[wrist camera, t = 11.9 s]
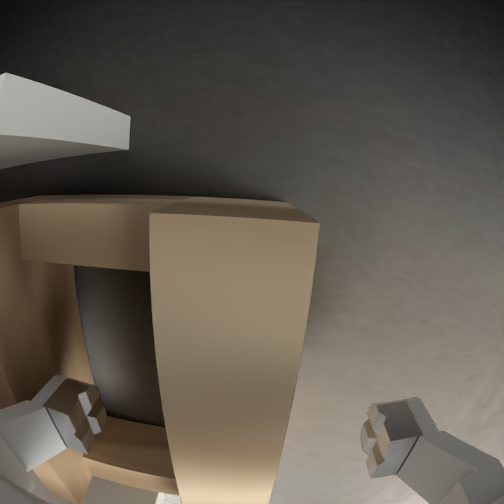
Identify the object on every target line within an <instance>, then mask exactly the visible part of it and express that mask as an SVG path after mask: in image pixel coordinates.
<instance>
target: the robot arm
mask: <svg viewBox="0 0 504 504" xmlns="http://www.w3.org/2000/svg"><path fill="white" fill-rule="evenodd" d="M99 396H100V392H99V390H98V387H97V386H95V385H92V384H89V383H85V382H82V381H79V380H75V379H72V378H68V377H65V376H62V375H59V374H58V375H54V376H53V377H52V378H51V380H50V381H49V382H48V383H47V384H46V385H45V386H44V387H43V388H42V389H41V390H40V391H39V392H38V394H37V395H36V396H35V397H34V398H33V399H32V400H31V401H29V400H26V401H23V402H20V403H18V404H15V405H12V406H9V407H6V408H3V409H0V504H51V503H49V502H47V501H45V500H43V499H41V498H39V497H38V496H36V495H34V494H32V493H31V492H32V490H33V489H34V487H35V485H36V484H35V481H34V480H33V479H32V477H31V476H30V475H29V474H28V471H30V470H31V469H33V468H35V467H37V466H38V465H40V464H42V463H43V462H45V461H47V460H48V459H50V458H52V457H53V456H55V455H57V454H58V453H60V452H62V451H63V450H65V449H67V447H68V448H71V449H73V450H76V451H79V452H82V453H85V454H89V452H90V450H91V449H92V447H93V445H94V444H95V442H96V438H95V434H97V433H99V432H101V431H102V430H103V428H104V426H105V423H106V417H107V416H106V409H105V407H104V405H103V404H102V402H101V401H100V400H99V399H98V398H99ZM367 414H368V417H369V419H368V420H367V421H366V422H365V423H364V424H363V427H362V430H361V446H362V450H363V452H365V453H366V454H367V455H369V457H368V459H367V461H366V464H367V467H368V471H369V474H370V478H377V477H383V476H389V475H394V474H397V476H398V477H399V478H400V479H401V480H403V481H404V482H405V483H406V484H407V485H408V486H409V487H411V488H412V489H413V490H414V491H415V492H417V493H418V494H419V495H420V496H421V497H422V498H424V499H425V500H426V501H427V502H428V503H430V504H504V468H503V466H502V464H501V463H500V461H499V460H498V459H496V458H494V457H492V456H490V455H488V454H486V453H484V452H482V451H480V450H478V449H477V448H475V447H473V446H471V445H469V444H467V443H465V442H463V441H461V440H459V439H458V438H456V437H454V436H452V435H450V434H448V433H447V432H445V431H440V432H439V430H438V429H437V427H436V425H435V423H434V422H433V420H432V418H431V416H430V415H429V413H428V411H427V409H426V408H425V406H424V404H423V403H422V401H421V399H420V398H418V397H414V398H409V399H403V400H396V401H390V402H382V403H374V404H372V405H371V406H370V407H369V410H368V412H367Z"/></svg>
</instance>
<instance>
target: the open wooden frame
mask: <svg viewBox="0 0 504 504" xmlns="http://www.w3.org/2000/svg"><path fill="white" fill-rule="evenodd" d="M319 226H320V223H319V222H317V221H316V220H314V219H313V218H311V217H309V216H308V215H306V214H305V213H303V212H302V211H300V210H298V209H297V208H295V207H294V206H292V205H290V204H289V203H287V202H277V201H265V200H250V199H234V198H215V197H193V196H163V195H49V196H35V197H29V198H23V199H18V200H12V201H7V202H1V203H0V409H3V408H6V407H9V406H12V405H15V404H18V403H20V402H23V401H26V400H29V401H31V400H32V399H33V398H34V397H35V396H36V395H37V394H38V392H39V391H40V390H41V389H42V388H43V387H44V386H45V385H46V384H47V383H48V382H49V381H50V380H51V378H52V377H53V376H54V375H58V374H59V375H62V376H65V377H68V378H72V379H75V380H79V381H82V382H85V383H89V384H92V385H95V383H94V379H93V375H92V371H91V367H90V363H89V359H88V354H87V350H86V345H85V340H84V335H83V330H82V324H81V319H80V313H79V306H78V299H77V292H76V284H75V275H74V265H80V266H91V267H101V268H112V269H124V270H135V271H147V272H150V282H151V303H152V318H153V331H154V343H155V353H156V363H157V371H158V380H159V388H160V395H161V402H162V409H163V415H164V421H165V427H160V426H154V425H148V424H143V423H138V422H133V421H128V420H123V419H118V418H114V417H110V416H107V417H106V423H105V426H104V428H103V430H102V431H101V432H99V433H97V434H95V438H96V442H95V444H94V445H93V447H92V449H91V450H90V452H89V454H85V453H82V452H79V451H76V450H73V449H71V448H68V447H67V449H65V450H63V451H62V452H60V453H58V454H57V455H55V456H53V457H52V458H50V459H48V460H47V461H45V462H43V463H42V464H40V465H38V466H37V467H35V468H33V469H32V470H33V471H34V472H35V474H36V475H37V477H38V478H39V479H40V481H41V482H42V483H43V484H44V486H45V487H46V488H47V490H48V491H49V492H50V493H51V494H53V495H55V496H57V497H60V498H62V499H64V500H67V501H69V502H72V503H74V504H81V502H82V500H83V497H84V495H85V493H86V490H87V488H88V485H89V483H90V481H91V478H92V476H96V477H99V478H102V479H106V480H109V481H113V482H116V483H120V484H124V485H128V486H132V487H137V488H141V489H146V490H151V491H156V492H161V493H167V494H173V495H180V499H181V503H182V504H268V503H269V500H270V496H271V492H272V488H273V485H274V481H275V477H276V473H277V469H278V465H279V461H280V457H281V453H282V448H283V444H284V440H285V435H286V431H287V426H288V422H289V417H290V412H291V408H292V403H293V398H294V393H295V388H296V382H297V377H298V372H299V366H300V361H301V355H302V349H303V343H304V337H305V331H306V325H307V319H308V312H309V306H310V299H311V292H312V284H313V277H314V269H315V261H316V253H317V245H318V236H319ZM98 399H99V398H98Z"/></svg>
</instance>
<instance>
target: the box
mask: <svg viewBox="0 0 504 504" xmlns="http://www.w3.org/2000/svg"><path fill="white" fill-rule="evenodd" d="M130 118H131V117H130V116H128V115H126V114H123V113H121V112H118V111H116V110H113V109H111V108H108V107H106V106H103V105H100V104H98V103H95V102H93V101H90V100H87V99H84V98H82V97H79V96H76V95H74V94H71V93H68V92H65V91H62V90H59V89H56V88H53V87H51V86H48V85H45V84H41V83H38V82H35V81H32V80H29V79H26V78H22V77H19V76H16V75H12V74H9V73H4V74H2V75H0V169H4V168H9V167H13V166H18V165H23V164H28V163H34V162H39V161H45V160H51V159H57V158H64V157H71V156H78V155H86V154H94V153H103V152H112V151H123V150H129V135H130ZM28 474H29V475H30V476H31V477H32V479H33V480H34V481H35V484H36V485H35V487H34V489H33V490H32V492H31V493H32V494H34V495H36V496H38V497H39V498H41V499H43V500H45V501H47V502H49V503H51V504H74V503H72V502H69V501H67V500H64V499H62V498H60V497H57V496H55V495H53V494H51V493H50V492H49V491H48V490H47V488H46V487H45V486H44V484H43V483H42V482H41V481H40V479H39V478H38V477H37V475H36V474H35V472H34V471H33V470H32V469H31V470H30V471H28ZM164 496H165V493H161V492H156V491H151V490H146V489H141V488H137V487H132V486H128V485H124V484H120V483H116V482H113V481H109V480H106V479H102V478H99V477H96V476H92V478H91V481H90V483H89V485H88V488H87V490H86V493H85V495H84V497H83V500H82V502H81V504H162V503H163V500H164Z"/></svg>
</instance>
